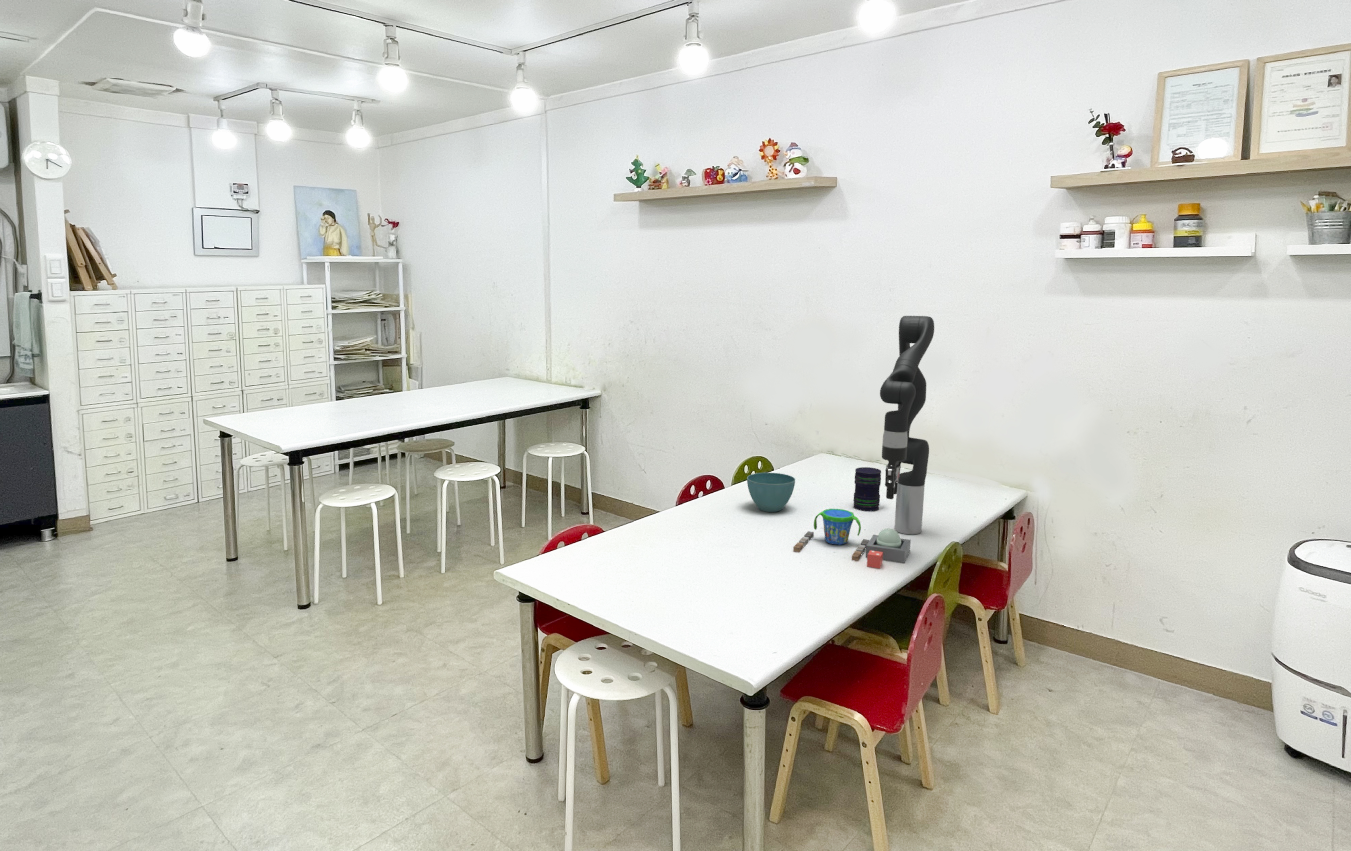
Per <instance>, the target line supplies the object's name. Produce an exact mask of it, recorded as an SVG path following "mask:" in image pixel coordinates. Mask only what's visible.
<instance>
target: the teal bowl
mask: <svg viewBox="0 0 1351 851" xmlns="http://www.w3.org/2000/svg"><path fill="white" fill-rule="evenodd" d="M746 484H747V488H748V492H749V495H750V498H751V500H752V501H753V503H754V504H755V506H756V508H757V509H758V510H760V511H761V512H766V513H776V512H780V511H781V510H783V509H784V507H785V506H786V505H788V502H789V501H790V499H791V497H792V495H793V493H794V489H795V485H796V478H795V477H794V476H793V475H788V474H785V473H780V472H779V473H778V472H756V473H752V474H750V475H748V476H747V477H746Z"/></svg>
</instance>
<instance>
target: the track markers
mask: <svg viewBox="0 0 1351 851" xmlns="http://www.w3.org/2000/svg"><path fill="white" fill-rule="evenodd" d="M814 534H815V533H814V531H811V530H809V531H807V532H806V533H805V534H804V535H803V536H802V537H801V538H800V539H799V540H798V542H796V543H795V544H794V546H793V549H792V550H793V553H801V551H802V550H803V549H804V547H806V545H808V543H809V541H811V540H812V539H811V538H814V536H815V535H814ZM869 541H870V539H865V538H863V539H862V541H861V542H860V544H858V546H857V547H856V550H855V551H854V552H853V553H852V554H851V561H853V560H855V562H859V560H860V559H861V557H862V555H863V554H864V553H865V552H866V549H865V548H866V545H867V544H868V542H869ZM863 552H864V553H863ZM861 554H862V555H861Z"/></svg>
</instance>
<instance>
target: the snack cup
mask: <svg viewBox="0 0 1351 851" xmlns="http://www.w3.org/2000/svg"><path fill="white" fill-rule="evenodd" d="M820 516H821V517H822V522H823V532H824V540H825V541H826V542H827V543H828V544H830V545H831V544H832V545H838V546H841V545H845V544H847V543H848V542H849V537H850V533H851V527H852V525H853V522H854V520H855V522H856V523H857V525H858V531H857V536H858V537H859V536H860V533H861V530H862V526H861V521H860V519H859V518H858V517H857V516H855V514H854V512H852V511H850V510H846V509H843V508H828V509H827V508H826V509H824V510H823V511H821V512H819V513H818V514H816V515H815V518H814V520H813V529H814V530H817V529H818V528H817V527H818V526H817V525H818V523H817V519H818V517H820Z"/></svg>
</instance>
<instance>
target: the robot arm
mask: <svg viewBox="0 0 1351 851" xmlns="http://www.w3.org/2000/svg"><path fill="white" fill-rule="evenodd" d="M934 333H935V321H934V319H933V317H931V316H927V315H903V316H902V317H900V320H899V324H898V350H899V351H898V352H899V356H898V358H897V359H896V360H895V364H894V366H893V368H892V370H893V371H892V372H890V375H889V376H887V377H886V379H885V380H884V381H883V383H882V385H881V387H880V390H879V398H880V399H881V401H882V402H883V403H885V404H894V405H897V410H890V411H886V412H885V415H884V423H883V424H884V425H883V434H882V448H881V459H882V460H885V461H888V463H887V464H886V465H885V479H884V480H885V482H884V485H885V486H884V487H886V492H885V493H886V494H885V498H886V499H887V500H893V499H894V496H895V495H896V496H895V497H896V500H895V512H894V513H895V514H894V528H893V529H894V530H895V531H897V532H898V533H900V534H905V535H918V534H921V533H922V530H923V528H922V526H923V515H924V499H925V484H926V477H927V474H928V473H927V472H928V464H929V455H930V445H929V442H928V440H926V439H922V438H915V437H910V431H911V430H910V429H911V426H912V423H913V421H914V420H915V418H916V417H917V415H918V414H919V413H920V412H921V410H922V408H923V407H924V405H925V403H926V400H927V379H926V377H925V376H924V373H923V372H922V371H921V369H920V368H919V366H920V363H921V361H922V359H923V357H924V355H925V354H926V352H927V351H928V348H929V346H930V344H931V343H932V340H933V338H934ZM911 344H913V345H911ZM901 464H906V465H912V469H911V470H909V471H905V472H901V467H902V465H901Z"/></svg>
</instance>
